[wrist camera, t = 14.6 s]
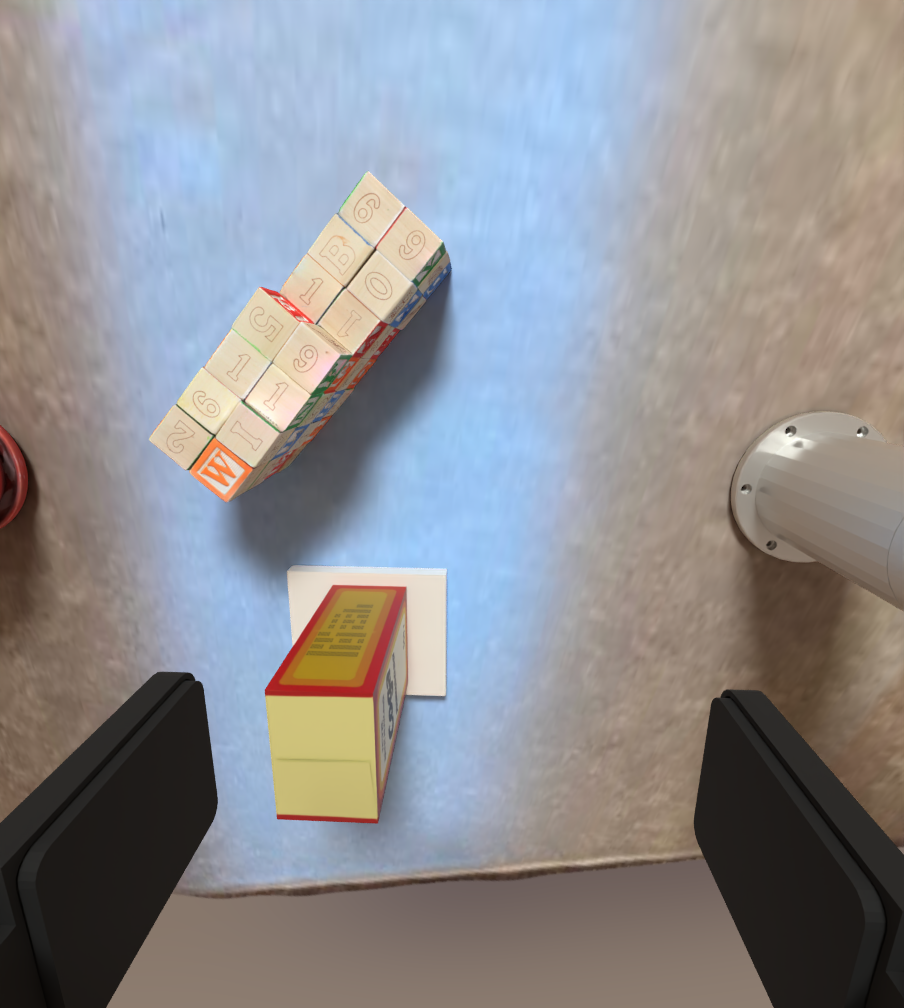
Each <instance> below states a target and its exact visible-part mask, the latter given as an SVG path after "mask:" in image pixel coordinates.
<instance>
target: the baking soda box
mask: <svg viewBox="0 0 904 1008" xmlns="http://www.w3.org/2000/svg"><path fill="white" fill-rule="evenodd" d="M407 685H408V642H407V587H401V586H358V585H332V587H331V588H330V590H329V592H328V593H327V595H326V596H325V598H324V599H323V601H322V602H321V604H320V605H319V607H318V609H317V610H316V612H315V613H314V615H313V616H312V618H311V619H310V621H309V622H308V624H307V626H306V627H305V629H304V630H303V632H302V633H301V635H300V636H299V638H298V639H297V641H296V643H295V644H294V646H293V647H292V649H291V650H290V652H289V653H288V655H287V656H286V658H285V660H284V661H283V663H282V664H281V666H280V667H279V669H278V670H277V672H276V673H275V675H274V677H273V678H272V680H271V681H270V683H269V684H268V686H267V687H266V689H265V698H266V708H267V718H268V729H269V739H270V750H271V760H272V770H273V781H274V791H275V801H276V812H277V819H284V820H308V821H332V822H356V823H378V821H379V816H380V811H381V807H382V802H383V797H384V793H385V788H386V783H387V779H388V774H389V769H390V765H391V760H392V755H393V751H394V746H395V741H396V737H397V732H398V727H399V723H400V718H401V713H402V709H403V704H404V699H405V695H406V690H407Z"/></svg>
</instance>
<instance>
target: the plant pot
mask: <svg viewBox="0 0 904 1008" xmlns="http://www.w3.org/2000/svg"><path fill="white" fill-rule="evenodd" d="M27 489H28V473H27V468H26V464H25V460H24V458H23V455H22V453H21V451H20V449H19V447H18V446H17V444H16V443H15V441H14V440H13V438H12V437H11V436H10V435H9V433H8V432H7V431H6V430H5V429H4V428H3V427H2V426H1V425H0V529H1V528H3V527H4V526H6V525H7V524H8V523H9V522H11V521H12V520H13V519H14V518H15V516H16V515H17V514H18V512H19V511H20V509H21V508H22V505H23V503H24V501H25V498H26V494H27Z"/></svg>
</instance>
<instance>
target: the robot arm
mask: <svg viewBox="0 0 904 1008" xmlns="http://www.w3.org/2000/svg"><path fill="white" fill-rule="evenodd" d="M786 428H787V432H785V430H786ZM743 485H744V488H743V489H741V488H742V486H743ZM731 506H732V511H733V515H734V518H735V520H736V523H737V525H738V527H739V529H740V530H741V532H742V533H743V534H744V536H745V537H746V538H747V539H748V540H749V541H750V542H751V543H752V544H754V545H755V546H756V547H757V548H759V549H760V550H762V551H763V552H765V553H766V554H768V555H771V556H773V557H776V558H778V559H780V560H785V561H790V562H802V563H810V562H817V561H818V562H820V563H821V564H823V565H825V566H827V567H828V568H830V569H832V570H833V571H835V572H837V573H839V574H840V575H842V576H844V577H845V578H847V579H849V580H851V581H852V582H854V583H856V584H857V585H859V586H861V587H863V588H864V589H866V590H868V591H869V592H871V593H873V594H875V595H876V596H878V597H880V598H881V599H883V600H885V601H887V602H888V603H890V604H892V605H893V606H895V607H897V608H899V609H900V610H902V611H904V446H902V445H897V444H892V443H887V441H886V440H885V438H884V437H883V435H882V434H881V433H880V432H879V431H878V430H877V429H875V428H874V427H873V426H872V425H871V424H869V423H867V422H865V421H864V420H862V419H860V418H858V417H855V416H851V415H848V414H845V413H839V412H832V411H814V412H808V413H802V414H798V415H795V416H793V417H790V418H787V419H784V420H783V421H781V422H779V423H777V424H775V425H774V426H772V427H770V428H769V429H768V430H767V431H765V432H764V433H763V434H762V435H760V436H759V437H758V438H757V439H756V440H755V441H754V442H753V443H752V445H751V446H750V447H749V448H748V449H747V451H746V452H745V454H744V455H743V457H742V459H741V460H740V462H739V464H738V467H737V469H736V472H735V474H734V477H733V482H732V487H731ZM767 542H768V543H767ZM217 804H218V797H217V789H216V782H215V774H214V766H213V758H212V751H211V743H210V735H209V727H208V720H207V712H206V704H205V696H204V689H203V685H202V683H201V682H199V681H195V678H194V676H193V675H192V674H191V673H185V672H157V673H156V674H154V675H153V676H152V677H151V678H150V679H149V680H148V681H147V682H146V683H145V684H144V685H143V686H142V687H141V688H140V689H139V690H137V691H136V692H135V693H134V694H133V695H132V696H131V697H130V698H129V699H128V700H127V701H126V702H125V703H124V704H123V705H122V706H121V707H120V708H119V709H118V710H117V711H116V712H115V713H114V714H113V715H112V716H111V717H110V718H109V719H107V720H106V721H105V722H104V723H103V724H102V725H101V726H100V727H99V728H98V729H97V730H96V731H95V732H94V733H93V734H92V735H91V736H90V737H89V738H88V739H87V740H86V741H85V742H84V743H83V744H82V745H81V746H80V747H79V748H78V749H76V750H75V751H74V752H73V753H72V754H71V755H70V756H69V757H68V758H67V759H66V760H65V761H64V762H63V763H62V764H61V765H60V766H59V767H58V768H57V769H56V770H55V771H54V772H53V773H52V774H51V775H50V776H49V777H48V778H46V779H45V780H44V781H43V782H42V783H41V784H40V785H39V786H38V787H37V788H36V789H35V790H34V791H33V792H32V793H31V794H30V795H29V796H28V797H27V798H26V799H25V800H24V801H23V802H22V803H21V804H20V805H19V806H18V807H16V808H15V809H14V810H13V811H12V812H11V813H10V814H9V815H8V816H7V817H6V818H5V819H4V820H3V821H2V822H1V823H0V1008H106V1007H107V1005H108V1003H109V1002H110V1000H111V998H112V996H113V994H114V993H115V991H116V989H117V988H118V986H119V984H120V982H121V981H122V979H123V977H124V975H125V974H126V972H127V970H128V968H129V967H130V965H131V963H132V961H133V960H134V958H135V956H136V955H137V953H138V951H139V949H140V948H141V946H142V944H143V942H144V940H145V939H146V937H147V935H148V934H149V932H150V930H151V928H152V927H153V925H154V923H155V921H156V920H157V918H158V916H159V914H160V912H161V911H162V909H163V908H164V906H165V904H166V902H167V901H168V899H169V897H170V895H171V894H172V892H173V890H174V888H175V887H176V885H177V883H178V881H179V880H180V878H181V876H182V874H183V873H184V871H185V869H186V867H187V866H188V864H189V862H190V861H191V859H192V857H193V855H194V854H195V852H196V850H197V848H198V847H199V845H200V843H201V841H202V840H203V838H204V836H205V834H206V833H207V831H208V829H209V827H210V826H211V824H212V822H213V820H214V817H215V814H216V810H217ZM694 830H695V835H696V839H697V842H698V844H699V846H700V849H701V851H702V853H703V855H704V857H705V860H706V862H707V863H708V866H709V868H710V870H711V873H712V875H713V877H714V879H715V881H716V883H717V886H718V888H719V890H720V892H721V894H722V896H723V898H724V901H725V903H726V905H727V907H728V909H729V911H730V913H731V916H732V918H733V920H734V922H735V925H736V927H737V929H738V931H739V933H740V935H741V937H742V940H743V942H744V944H745V946H746V948H747V951H748V953H749V955H750V957H751V959H752V961H753V964H754V966H755V968H756V970H757V972H758V975H759V977H760V979H761V981H762V983H763V985H764V987H765V990H766V992H767V994H768V996H769V998H770V1001H771V1003H772V1005H773V1007H774V1008H904V855H903V854H902V852H901V851H900V850H899V849H898V848H897V846H896V845H895V844H894V843H893V842H892V841H891V840H890V838H889V837H888V836H887V835H886V834H885V833H884V831H883V830H882V829H881V828H880V827H879V826H878V825H877V823H876V822H875V821H874V820H873V819H872V818H871V817H870V815H869V814H868V813H867V812H866V811H865V810H864V808H863V807H862V806H861V805H860V804H859V803H858V802H857V800H856V799H855V798H854V797H853V796H852V795H851V793H850V792H849V791H848V790H847V789H846V788H845V787H844V785H843V784H842V783H841V782H840V781H839V780H838V778H837V777H836V776H835V775H834V774H833V773H832V772H831V770H830V769H829V768H828V767H827V766H826V765H825V764H824V762H823V761H822V760H821V759H820V758H819V757H818V755H817V754H816V753H815V752H814V751H813V750H812V749H811V747H810V746H809V745H808V744H807V743H806V742H805V740H804V739H803V738H802V737H801V736H800V735H799V734H798V732H797V731H796V730H795V729H794V728H793V727H792V725H791V724H790V723H789V722H788V721H787V720H786V719H785V717H784V716H783V715H782V714H781V713H780V712H779V711H778V709H777V708H776V707H775V706H774V705H773V704H772V702H771V701H770V700H769V699H768V698H767V697H766V696H765V695H764V694H763V693H762V692H761V691H756V690H725V691H723V693H722V694H721V698H714V699H713V701H712V704H711V709H710V716H709V722H708V729H707V735H706V742H705V749H704V755H703V762H702V769H701V775H700V782H699V788H698V795H697V802H696V808H695V815H694Z"/></svg>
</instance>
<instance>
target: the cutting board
mask: <svg viewBox="0 0 904 1008" xmlns="http://www.w3.org/2000/svg"><path fill="white" fill-rule="evenodd" d="M287 580H288V592H289V605H290V618H291V631H292V644H293V646H294V644H295V643H296V641H297V639H298V638H299V636H300V635H301V633H302V632H303V630H304V629H305V627H306V626H307V624H308V622H309V621H310V619H311V618H312V616H313V615H314V613H315V612H316V610H317V609H318V607H319V605H320V604H321V602H322V601H323V599H324V598H325V596H326V595H327V593H328V592H329V590H330V588H331V587H332V585H358V586H401V587H407V642H408V685H407V690H406V695H429V696H446V664H447V569H438V568H394V567H350V566H306V565H292V566H291V567H290V569H289V570H288V571H287Z"/></svg>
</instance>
